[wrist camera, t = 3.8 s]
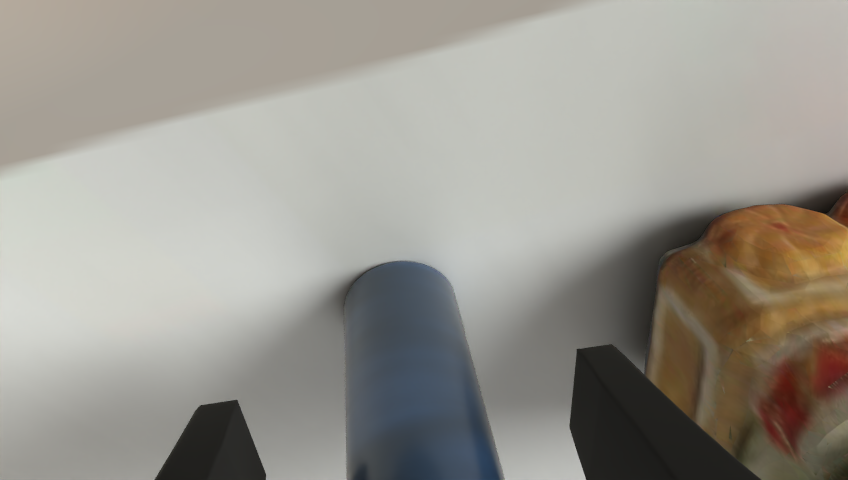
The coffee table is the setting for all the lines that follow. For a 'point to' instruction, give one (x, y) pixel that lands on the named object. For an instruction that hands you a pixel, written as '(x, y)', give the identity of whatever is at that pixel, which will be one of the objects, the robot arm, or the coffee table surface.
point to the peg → (412, 382)
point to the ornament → (760, 338)
